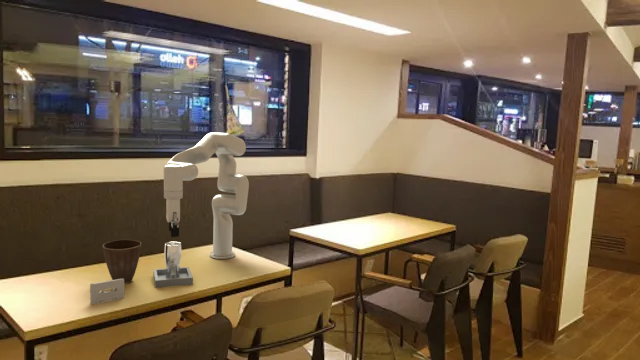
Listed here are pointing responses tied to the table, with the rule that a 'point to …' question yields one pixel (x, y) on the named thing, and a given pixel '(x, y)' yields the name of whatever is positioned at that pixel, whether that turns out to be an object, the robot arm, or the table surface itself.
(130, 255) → the plant pot
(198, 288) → the table surface
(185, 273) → the serving tray
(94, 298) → the cassette
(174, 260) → the beer glass
